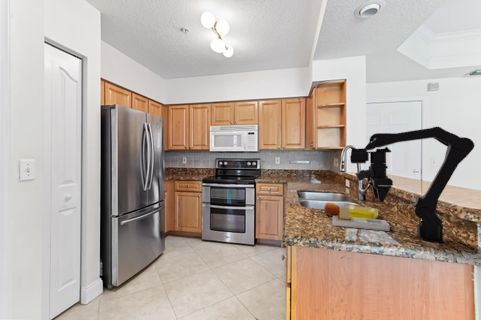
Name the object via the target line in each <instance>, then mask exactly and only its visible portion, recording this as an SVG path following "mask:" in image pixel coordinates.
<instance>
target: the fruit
mask: <svg viewBox="0 0 481 320" xmlns="http://www.w3.org/2000/svg"><path fill="white" fill-rule="evenodd" d="M339 206H340V205H338V204H335V203H333V202H326V203H325V205H324V210H323V211H324V215H325V216H329V218H330V217H331V216H332V217H333V216H339Z"/></svg>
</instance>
